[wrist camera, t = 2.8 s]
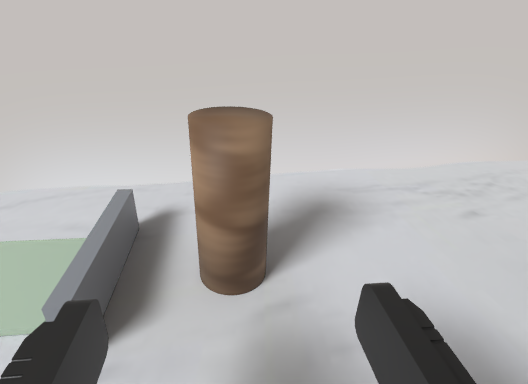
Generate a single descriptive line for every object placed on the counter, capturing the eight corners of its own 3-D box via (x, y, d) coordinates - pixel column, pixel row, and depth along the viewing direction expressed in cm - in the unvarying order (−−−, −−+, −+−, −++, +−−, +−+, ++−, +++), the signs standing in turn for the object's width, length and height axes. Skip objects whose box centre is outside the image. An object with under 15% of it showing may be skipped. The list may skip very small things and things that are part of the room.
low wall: (139, 227, 29) (132, 189, 27) (85, 358, 17) (67, 307, 16) (125, 228, 29) (117, 189, 27) (62, 361, 17) (41, 309, 15)
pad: (96, 242, 27) (94, 237, 26) (43, 332, 19) (41, 326, 18) (-21, 247, 26) (-23, 242, 25) (-129, 345, 18) (-134, 339, 17)
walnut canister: (261, 249, 27) (266, 106, 21) (269, 292, 22) (279, 127, 17) (201, 252, 26) (191, 106, 20) (198, 297, 22) (183, 127, 16)
